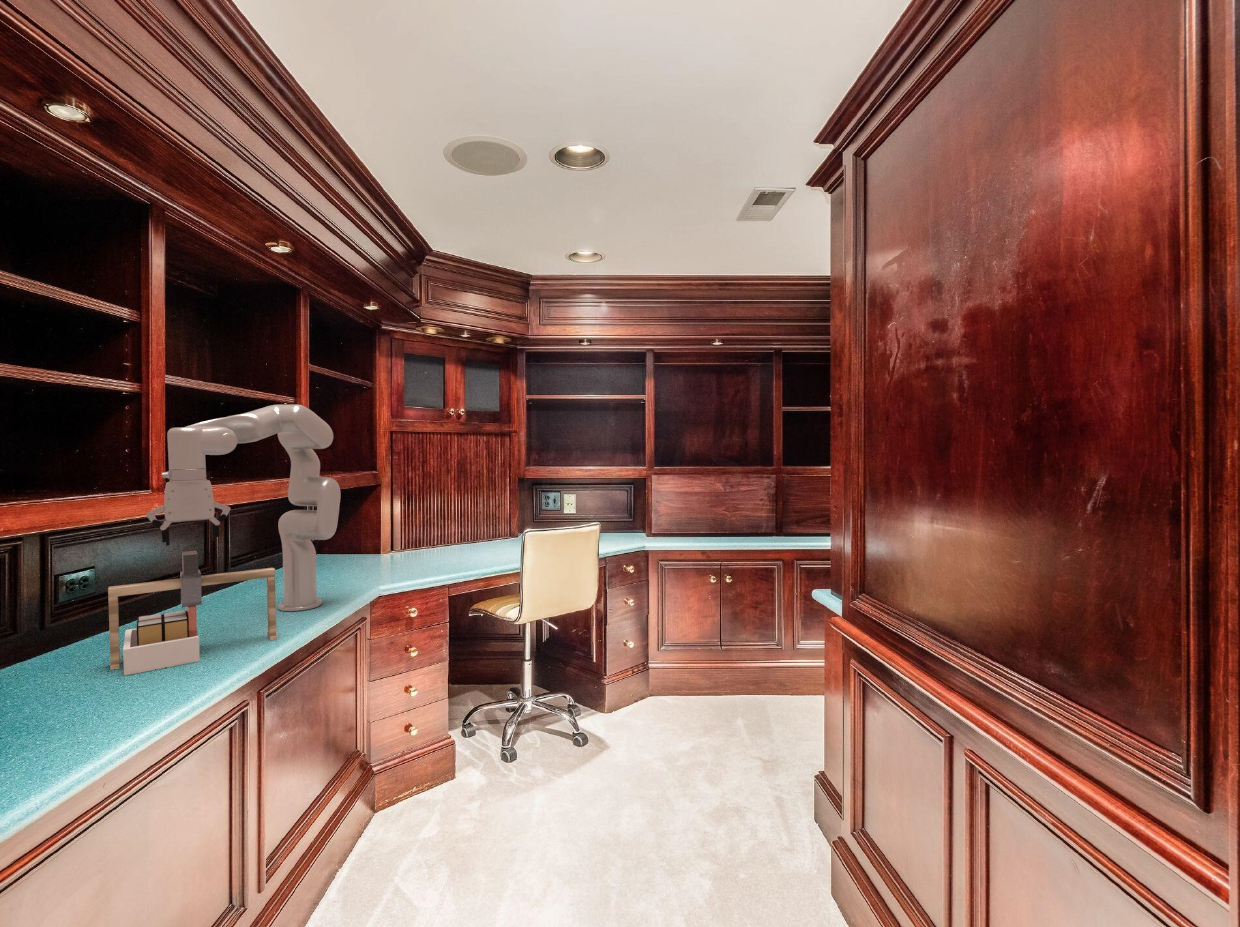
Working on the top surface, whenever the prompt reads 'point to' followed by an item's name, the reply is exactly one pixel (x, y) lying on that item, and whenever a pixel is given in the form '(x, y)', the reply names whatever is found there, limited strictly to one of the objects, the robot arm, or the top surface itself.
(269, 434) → the robot arm
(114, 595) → the rail gantry
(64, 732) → the top surface
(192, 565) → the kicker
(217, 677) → the top surface
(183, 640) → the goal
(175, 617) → the puzzle cube
